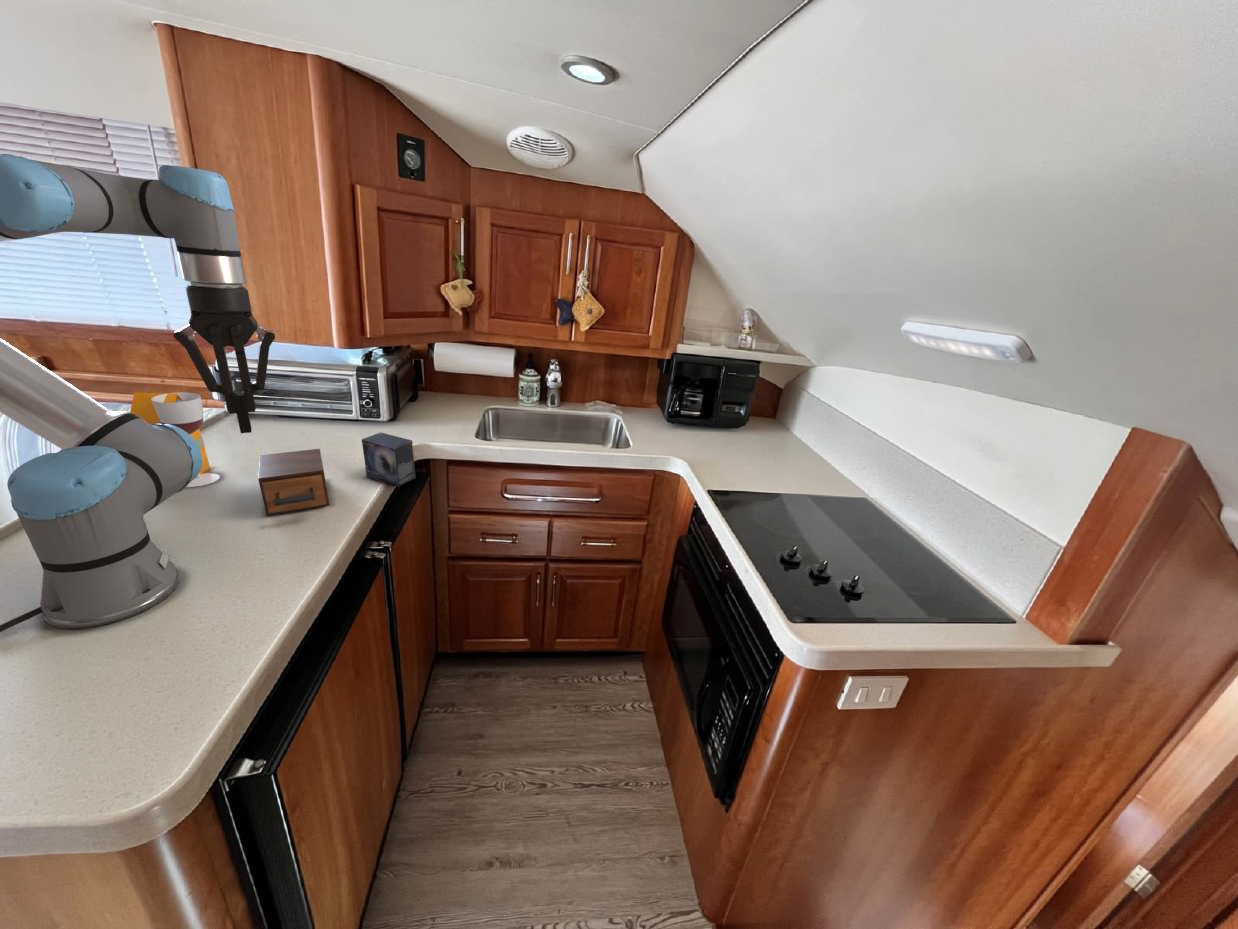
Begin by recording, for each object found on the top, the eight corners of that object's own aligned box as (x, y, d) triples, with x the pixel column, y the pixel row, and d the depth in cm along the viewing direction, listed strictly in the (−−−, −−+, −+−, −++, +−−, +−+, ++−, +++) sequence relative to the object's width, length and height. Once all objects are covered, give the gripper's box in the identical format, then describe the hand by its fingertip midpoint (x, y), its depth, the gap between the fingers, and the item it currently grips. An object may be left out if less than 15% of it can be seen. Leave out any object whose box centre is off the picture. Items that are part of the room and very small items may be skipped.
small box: (364, 477, 123) (359, 438, 119) (384, 469, 128) (380, 431, 124) (397, 487, 119) (393, 447, 115) (417, 478, 125) (413, 439, 121)
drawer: (327, 514, 104) (322, 485, 101) (268, 524, 98) (261, 494, 96) (322, 482, 117) (318, 455, 114) (269, 489, 112) (263, 462, 109)
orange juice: (171, 467, 120) (147, 387, 112) (211, 468, 121) (189, 389, 113) (146, 481, 113) (119, 396, 105) (189, 482, 114) (164, 398, 106)
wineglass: (191, 490, 110) (166, 405, 102) (168, 481, 113) (142, 397, 105) (229, 478, 117) (209, 397, 109) (206, 470, 120) (185, 390, 112)
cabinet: (329, 505, 109) (323, 470, 106) (266, 515, 103) (257, 478, 100) (325, 481, 119) (319, 448, 116) (267, 489, 113) (260, 455, 110)
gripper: (267, 284, 81) (289, 420, 90) (162, 279, 74) (198, 427, 83) (269, 289, 76) (293, 433, 85) (156, 284, 68) (195, 442, 77)
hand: (246, 430), depth 84 cm, fingers closed
